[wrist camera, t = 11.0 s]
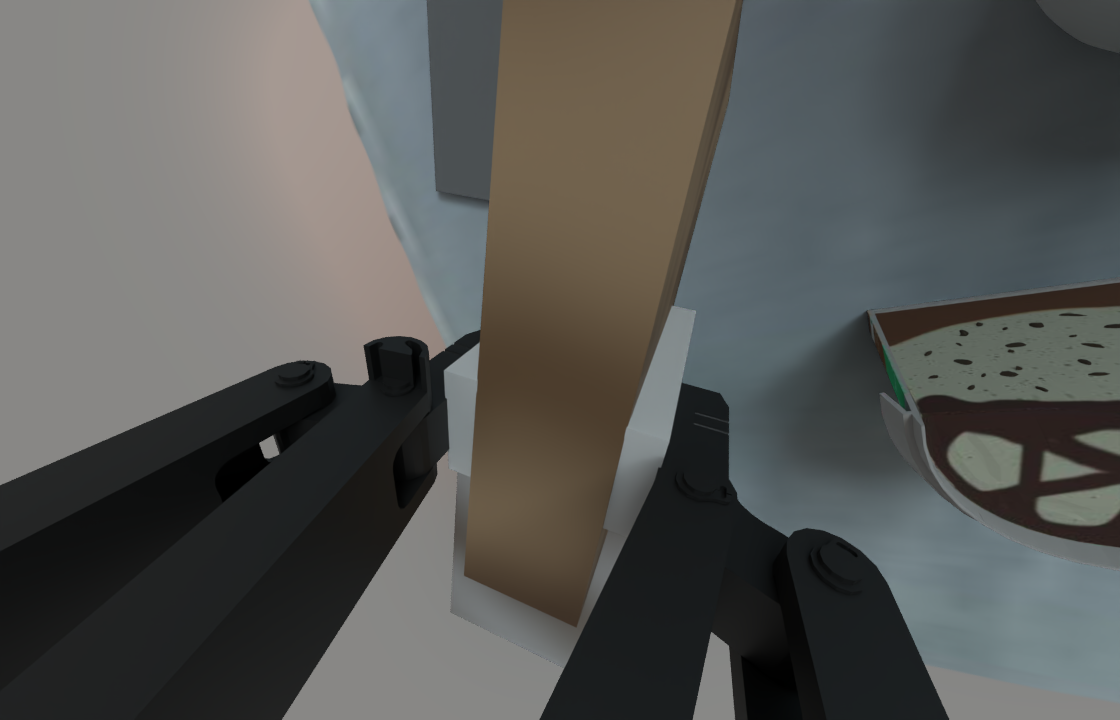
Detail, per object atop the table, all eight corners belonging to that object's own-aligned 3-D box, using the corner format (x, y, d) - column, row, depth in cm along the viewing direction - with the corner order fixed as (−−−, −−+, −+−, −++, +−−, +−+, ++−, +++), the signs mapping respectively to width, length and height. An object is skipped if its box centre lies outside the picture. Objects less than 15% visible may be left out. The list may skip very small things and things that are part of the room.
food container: (835, 414, 23) (895, 565, 15) (831, 315, 21) (899, 426, 13) (1169, 401, 18) (1561, 626, 9) (1212, 265, 15) (1771, 401, 7)
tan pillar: (550, 85, 13) (352, -61, 6) (824, 111, 11) (1034, -68, 4) (499, 537, 21) (390, 704, 14) (650, 600, 19) (612, 835, 12)
